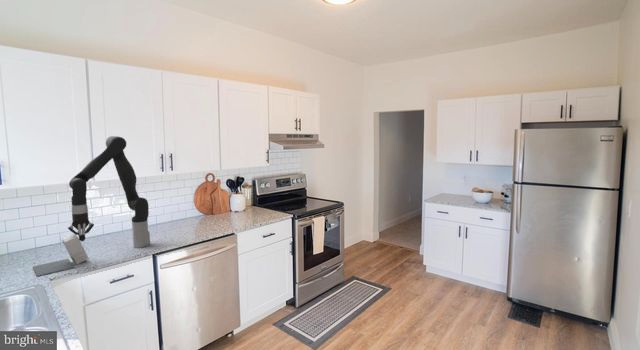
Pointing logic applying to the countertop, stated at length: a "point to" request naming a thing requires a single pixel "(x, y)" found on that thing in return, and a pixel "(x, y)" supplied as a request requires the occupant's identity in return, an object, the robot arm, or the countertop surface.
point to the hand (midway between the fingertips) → (82, 240)
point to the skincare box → (75, 248)
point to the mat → (53, 267)
